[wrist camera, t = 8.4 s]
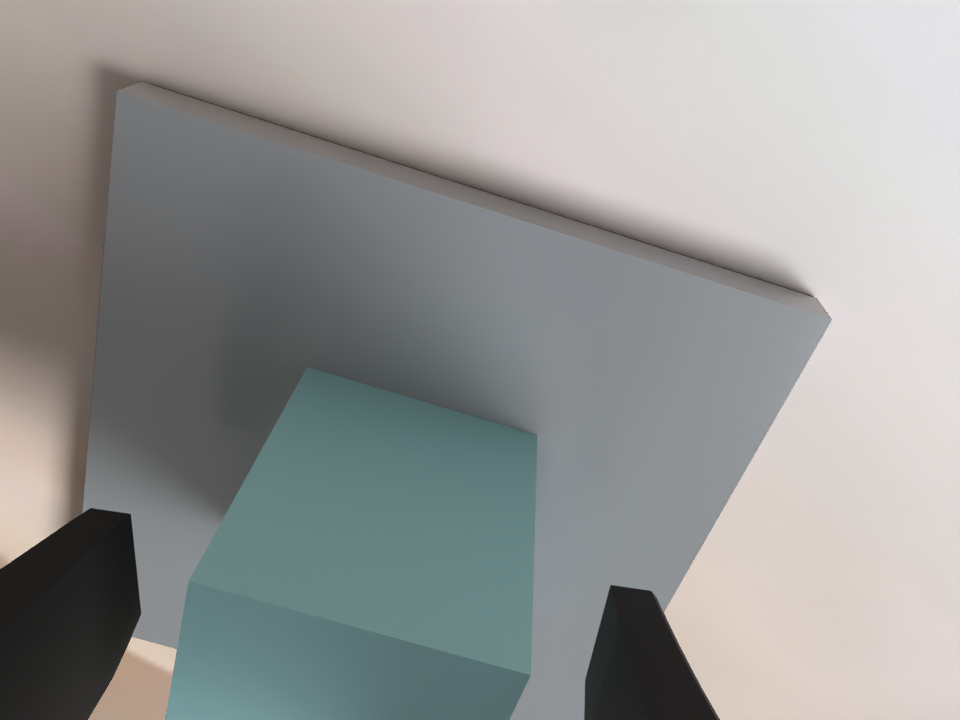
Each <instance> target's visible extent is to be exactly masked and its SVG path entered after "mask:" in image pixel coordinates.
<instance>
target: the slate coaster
mask: <svg viewBox="0 0 960 720" xmlns="http://www.w3.org/2000/svg"><path fill="white" fill-rule="evenodd" d="M831 320H832V319H831V317H830V316H829V315H828V313H827V312H826V310H825V309H824V308H823V306H822V305H821V303H820V302H819V301H818V299H817V298H814V297H811V296H808V295H805V294H802V293H799V292H796V291H793V290H789V289H786V288H783V287H780V286H777V285H774V284H771V283H768V282H765V281H761V280H758V279H755V278H752V277H749V276H746V275H743V274H740V273H736V272H733V271H730V270H727V269H724V268H721V267H718V266H715V265H712V264H708V263H705V262H702V261H699V260H696V259H693V258H690V257H687V256H684V255H680V254H677V253H674V252H671V251H668V250H665V249H662V248H659V247H655V246H652V245H649V244H646V243H643V242H640V241H637V240H634V239H631V238H627V237H624V236H621V235H618V234H615V233H612V232H609V231H606V230H603V229H599V228H596V227H593V226H590V225H587V224H584V223H581V222H578V221H575V220H571V219H568V218H565V217H562V216H559V215H556V214H553V213H550V212H546V211H543V210H540V209H537V208H534V207H531V206H528V205H525V204H522V203H518V202H515V201H512V200H509V199H506V198H503V197H500V196H497V195H494V194H490V193H487V192H484V191H481V190H478V189H475V188H472V187H469V186H466V185H462V184H459V183H456V182H453V181H450V180H447V179H444V178H441V177H437V176H434V175H431V174H428V173H425V172H422V171H419V170H416V169H413V168H409V167H406V166H403V165H400V164H397V163H394V162H391V161H388V160H385V159H381V158H378V157H375V156H372V155H369V154H366V153H363V152H360V151H357V150H353V149H350V148H347V147H344V146H341V145H338V144H335V143H332V142H328V141H325V140H322V139H319V138H316V137H313V136H310V135H307V134H304V133H300V132H297V131H294V130H291V129H288V128H285V127H282V126H279V125H276V124H272V123H269V122H266V121H263V120H260V119H257V118H254V117H251V116H247V115H244V114H241V113H238V112H235V111H232V110H229V109H226V108H223V107H219V106H216V105H213V104H210V103H207V102H204V101H201V100H198V99H195V98H191V97H188V96H185V95H182V94H179V93H176V92H173V91H170V90H167V89H163V88H160V87H157V86H154V85H151V84H148V83H145V82H139V83H136V84H134V85H131V86H128V87H126V88H123V89H120V90H118V91H117V92H116V105H115V117H114V129H113V142H112V154H111V166H110V179H109V191H108V203H107V215H106V228H105V240H104V252H103V265H102V277H101V289H100V302H99V314H98V326H97V339H96V351H95V363H94V375H93V388H92V400H91V412H90V425H89V437H88V449H87V462H86V474H85V486H84V498H83V511H82V513H84V512H85V511H87V510H89V509H90V508H94V509H101V510H108V511H114V512H121V513H128V514H131V520H132V529H133V539H134V548H135V558H136V567H137V577H138V587H139V596H140V606H141V616H140V618H139V621H138V623H137V625H136V627H135V630H134V632H133V634H132V637H135V638H139V639H142V640H146V641H150V642H153V643H157V644H161V645H164V646H168V647H172V648H175V649H177V647H178V641H179V635H180V629H181V623H182V617H183V611H184V605H185V599H186V594H187V588H188V582H189V579H190V578H191V576H192V574H193V572H194V570H195V569H196V567H197V565H198V563H199V561H200V560H201V558H202V556H203V554H204V552H205V551H206V549H207V547H208V545H209V543H210V542H211V540H212V538H213V536H214V534H215V533H216V531H217V529H218V527H219V525H220V524H221V522H222V520H223V518H224V516H225V515H226V513H227V511H228V509H229V507H230V506H231V504H232V502H233V500H234V498H235V497H236V495H237V493H238V491H239V489H240V488H241V486H242V484H243V482H244V480H245V479H246V477H247V475H248V473H249V471H250V470H251V468H252V466H253V464H254V462H255V460H256V459H257V457H258V455H259V453H260V451H261V450H262V448H263V446H264V444H265V442H266V441H267V439H268V437H269V435H270V433H271V432H272V430H273V428H274V426H275V424H276V423H277V421H278V419H279V417H280V415H281V414H282V412H283V410H284V408H285V406H286V405H287V403H288V401H289V399H290V397H291V396H292V394H293V392H294V390H295V388H296V387H297V385H298V383H299V381H300V379H301V378H302V376H303V374H304V372H305V370H306V369H307V367H309V368H312V369H316V370H319V371H322V372H326V373H329V374H333V375H336V376H339V377H343V378H346V379H349V380H353V381H356V382H360V383H363V384H366V385H370V386H373V387H376V388H380V389H383V390H387V391H390V392H393V393H397V394H400V395H403V396H407V397H410V398H413V399H417V400H420V401H424V402H427V403H430V404H434V405H437V406H440V407H444V408H447V409H451V410H454V411H457V412H461V413H464V414H467V415H471V416H474V417H477V418H481V419H484V420H488V421H491V422H494V423H498V424H501V425H504V426H508V427H511V428H515V429H518V430H521V431H525V432H528V433H531V434H535V435H537V469H536V506H535V542H534V579H533V615H532V652H531V676H530V678H529V680H528V682H527V684H526V686H525V688H524V690H523V693H522V695H521V697H520V699H519V701H518V703H517V705H516V707H515V709H514V711H513V713H512V715H511V717H510V719H509V720H584V711H585V679H586V675H587V671H588V667H589V664H590V660H591V656H592V652H593V649H594V645H595V641H596V637H597V634H598V630H599V626H600V622H601V619H602V615H603V611H604V607H605V604H606V600H607V596H608V592H609V589H610V585H615V586H622V587H629V588H635V589H642V590H649V591H652V592H653V593H654V595H655V596H656V597H657V599H658V601H659V604H660V606H661V608H662V610H663V612H664V611H665V609H666V607H667V606H668V604H669V602H670V601H671V599H672V597H673V595H674V594H675V592H676V590H677V588H678V587H679V585H680V583H681V581H682V580H683V578H684V576H685V574H686V573H687V571H688V569H689V567H690V566H691V564H692V562H693V560H694V559H695V557H696V555H697V554H698V552H699V550H700V548H701V547H702V545H703V543H704V541H705V540H706V538H707V536H708V534H709V533H710V531H711V529H712V527H713V526H714V524H715V522H716V520H717V519H718V517H719V515H720V514H721V512H722V510H723V508H724V507H725V505H726V503H727V501H728V500H729V498H730V496H731V494H732V493H733V491H734V489H735V487H736V486H737V484H738V482H739V480H740V479H741V477H742V475H743V473H744V472H745V470H746V468H747V467H748V465H749V463H750V461H751V460H752V458H753V456H754V454H755V453H756V451H757V449H758V447H759V446H760V444H761V442H762V440H763V439H764V437H765V435H766V433H767V432H768V430H769V428H770V426H771V425H772V423H773V421H774V420H775V418H776V416H777V414H778V413H779V411H780V409H781V407H782V406H783V404H784V402H785V400H786V399H787V397H788V395H789V393H790V392H791V390H792V388H793V386H794V385H795V383H796V381H797V380H798V378H799V376H800V374H801V373H802V371H803V369H804V367H805V366H806V364H807V362H808V360H809V359H810V357H811V355H812V353H813V352H814V350H815V348H816V346H817V345H818V343H819V341H820V339H821V338H822V336H823V334H824V333H825V331H826V329H827V327H828V326H829V324H830V322H831Z"/></svg>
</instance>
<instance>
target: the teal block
mask: <svg viewBox="0 0 960 720" xmlns="http://www.w3.org/2000/svg"><path fill="white" fill-rule="evenodd" d="M536 469H537V435H535V434H531V433H528V432H525V431H521V430H518V429H515V428H511V427H508V426H504V425H501V424H498V423H494V422H491V421H488V420H484V419H481V418H477V417H474V416H471V415H467V414H464V413H461V412H457V411H454V410H451V409H447V408H444V407H440V406H437V405H434V404H430V403H427V402H424V401H420V400H417V399H413V398H410V397H407V396H403V395H400V394H397V393H393V392H390V391H387V390H383V389H380V388H376V387H373V386H370V385H366V384H363V383H360V382H356V381H353V380H349V379H346V378H343V377H339V376H336V375H333V374H329V373H326V372H322V371H319V370H316V369H312V368H309V367H307V369H306V370H305V372H304V374H303V376H302V378H301V379H300V381H299V383H298V385H297V387H296V388H295V390H294V392H293V394H292V396H291V397H290V399H289V401H288V403H287V405H286V406H285V408H284V410H283V412H282V414H281V415H280V417H279V419H278V421H277V423H276V424H275V426H274V428H273V430H272V432H271V433H270V435H269V437H268V439H267V441H266V442H265V444H264V446H263V448H262V450H261V451H260V453H259V455H258V457H257V459H256V460H255V462H254V464H253V466H252V468H251V470H250V471H249V473H248V475H247V477H246V479H245V480H244V482H243V484H242V486H241V488H240V489H239V491H238V493H237V495H236V497H235V498H234V500H233V502H232V504H231V506H230V507H229V509H228V511H227V513H226V515H225V516H224V518H223V520H222V522H221V524H220V525H219V527H218V529H217V531H216V533H215V534H214V536H213V538H212V540H211V542H210V543H209V545H208V547H207V549H206V551H205V552H204V554H203V556H202V558H201V560H200V561H199V563H198V565H197V567H196V569H195V570H194V572H193V574H192V576H191V578H190V579H189V582H188V588H187V594H186V599H185V605H184V611H183V617H182V623H181V629H180V635H179V641H178V647H177V653H176V659H175V665H174V671H173V677H172V683H171V689H170V695H169V701H168V707H167V713H166V719H165V720H509V719H510V717H511V715H512V713H513V711H514V709H515V707H516V705H517V703H518V701H519V699H520V697H521V695H522V693H523V690H524V688H525V686H526V684H527V682H528V680H529V678H530V676H531V652H532V615H533V579H534V542H535V506H536Z"/></svg>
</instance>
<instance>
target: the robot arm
mask: <svg viewBox="0 0 960 720" xmlns="http://www.w3.org/2000/svg"><path fill="white" fill-rule="evenodd" d="M140 616H141V606H140V596H139V587H138V577H137V567H136V558H135V548H134V539H133V529H132V520H131V514H128V513H121V512H114V511H108V510H101V509H94V508H90V509H89V510H87V511H85V512H84V513H82V514H81V515H79V516H78V517H76V518H75V519H73V520H72V521H70V522H69V523H67V524H66V525H64V526H63V527H62V528H60V529H59V530H57V531H56V532H54V533H53V534H51V535H50V536H48V537H47V538H46V539H44V540H43V541H41V542H40V543H38V544H37V545H35V546H34V547H32V548H31V549H29V550H28V551H27V552H25V553H24V554H22V555H21V556H19V557H18V558H16V559H15V560H13V561H12V562H10V563H9V564H7V565H6V566H4V567H3V568H1V569H0V720H88V718H89V717H90V715H91V713H92V712H93V710H94V708H95V707H96V705H97V703H98V702H99V700H100V698H101V697H102V695H103V693H104V692H105V690H106V688H107V687H108V685H109V683H110V681H111V680H112V678H113V676H114V674H115V671H116V670H117V667H118V665H119V663H120V661H121V658H122V656H123V655H124V652H125V650H126V648H127V646H128V644H129V641H130V639H131V637H132V634H133V632H134V630H135V627H136V625H137V623H138V621H139V618H140ZM584 720H720V719H719V717H718V716H717V714H716V712H715V710H714V709H713V707H712V705H711V703H710V702H709V700H708V698H707V696H706V695H705V693H704V691H703V689H702V688H701V686H700V684H699V682H698V680H697V678H696V676H695V675H694V673H693V671H692V669H691V667H690V665H689V663H688V661H687V659H686V657H685V655H684V653H683V651H682V650H681V648H680V646H679V644H678V642H677V640H676V638H675V635H674V633H673V631H672V629H671V627H670V625H669V623H668V621H667V619H666V617H665V615H664V612H663V610H662V608H661V606H660V604H659V601H658V599H657V597H656V596H655V595H654V593H653V592H652V591H649V590H642V589H635V588H629V587H622V586H615V585H610V589H609V592H608V596H607V600H606V604H605V607H604V611H603V615H602V619H601V622H600V626H599V630H598V634H597V637H596V641H595V645H594V649H593V652H592V656H591V660H590V664H589V667H588V671H587V675H586V679H585V711H584Z"/></svg>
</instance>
